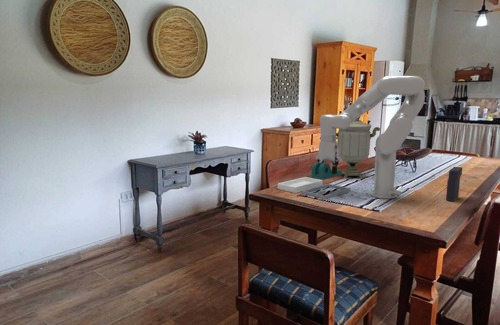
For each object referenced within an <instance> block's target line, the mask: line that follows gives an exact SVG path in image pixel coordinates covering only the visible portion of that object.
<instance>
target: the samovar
mask: <svg viewBox="0 0 500 325" xmlns="http://www.w3.org/2000/svg"><path fill="white" fill-rule="evenodd" d="M371 122H372V121H371V120H370V119H369V120H367V122H366V123H365V122H364V121H362V120H361V116H360V117H359V118H357V119H356V120H355V121H354V122H352V123H351V124H350V126H349V127H348V128H346V129H338V131H337V132H336V137H337V140H336V141H337V143H338V149H339V156H340V157H341V158H342V161H344V162H346V166H347V168H345V169H344V170H343V171H342V175H343V179H347V178H348V176H349V177H350V176H354V177H355V176H357V177H359V178H360V179H363V178H364V177H363V176H362V175H361V174H362V173H361V171H360V170H359V169H358V168H357V167H358V166H359V163H362V162H363V161H365V160H366V159H367V158H369V156H370V149H371V138H374V137H375V136H376V135H377V132H380V129H381V128H380V127H377V126H376V127H374V128H373V129H372V130H371V128H372V124H371ZM371 131H372V132H371Z"/></svg>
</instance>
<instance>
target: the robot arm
mask: <svg viewBox="0 0 500 325" xmlns="http://www.w3.org/2000/svg"><path fill="white" fill-rule="evenodd" d="M425 83H426V82H425V81H424V79H423V78H422V77H421V76H419V75H385V76H383V77H381V79H379V80H378V81H377V82H375V83H374V84H372V86H371V87H369V88H368V89H367V90H366V91H365V92H363V93H362V94H361V95H360V96H359V97H358V98H357V99H356V100H355V101H354V102H353V103H352V104H350V105H349V106H348V107H347V108H346V109H344V110H343V111H342V112H341V113H339V114H321V115H320V118H319V119H320V121H319V123H320V124H319V125H320V126H319V127H320V141H319V144H318V153H317V154H316V155H315V157H314V158H315V159H316V162H319V163H325V162H326V161H327V162H331V164H332V166H331V169H332V174H336V173H337V169H338V166H339V164H341V162H342V161H343V160H342V158H341V157H340V156H339V149H338V143H337V141H338V139H337V136H336V133H337V129H338V130H339V129H346V128H348V127H349V126H350V124H351V123H352V122H354V121H355V120H356V119H357V118H359V117H360V118H361V117H362V116H363V115H364V114H366V113H368V112H370V111H371V110H373V109H374V108H375V107H376V106H377V105H379V104H380V103H381V102H382V101H384V100H385V99H386V98H387V97H388V96H389V95H391V96H393V95H394V96H395V95H396V96H405V98H404V101H403V102H402V104H401V105H400V107H399V108H398V109H397V111H396V112H395V114H394V115H393V116H392V117H391V119H390V121H389V125H388V126H387V128H385V130H384V132H382V133H380V134H379V135H378V136H377V138H376V140H375V154H374V155H375V156H374V158H375V160H374V177H373V178H374V179H373V190H372V191H370V196H371V197H373V198H377V199H384V200H385V199H386V200H388V199H395V198H397V197H398V196H399V197H401V196H402V191H400V190H397V187H395V177H396V163H397V152H398V150H399V148H401V146H402V144H403V143H404V141H406V139H407V138H408V136H409V135H410V133H411V131H412V130H413V125H414V124H413V122H414V120H416V118H417V117H418V115H419V113H420V111H421V110H422V109H423V106H424V104H425V98H426V94H425V87H426V84H425ZM360 118H359V119H360Z"/></svg>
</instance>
